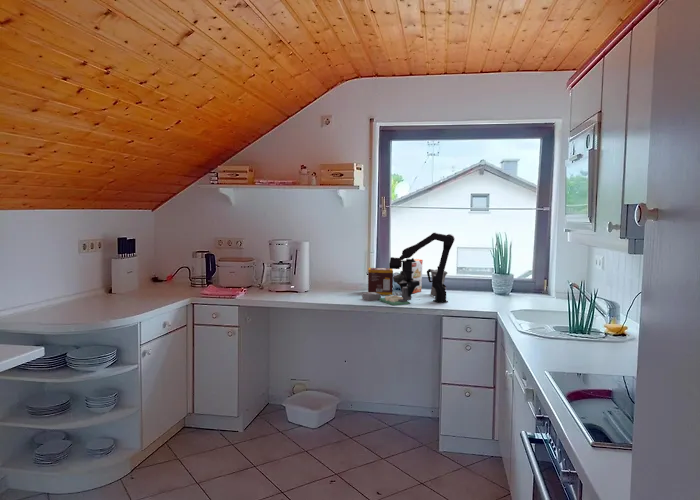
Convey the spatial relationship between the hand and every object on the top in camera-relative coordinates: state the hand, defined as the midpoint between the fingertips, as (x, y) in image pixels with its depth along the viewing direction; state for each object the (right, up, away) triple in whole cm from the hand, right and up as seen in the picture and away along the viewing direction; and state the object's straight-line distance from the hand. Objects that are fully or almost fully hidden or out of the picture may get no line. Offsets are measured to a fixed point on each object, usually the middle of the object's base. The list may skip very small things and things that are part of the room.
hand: (406, 295), depth 297 cm
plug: (0, -2, 0) cm, 2 cm away
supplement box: (-14, -1, +20) cm, 24 cm away
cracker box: (+7, 0, +25) cm, 26 cm away
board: (-8, -3, -8) cm, 12 cm away
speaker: (-21, -2, -1) cm, 21 cm away
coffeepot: (+21, -1, +17) cm, 27 cm away
